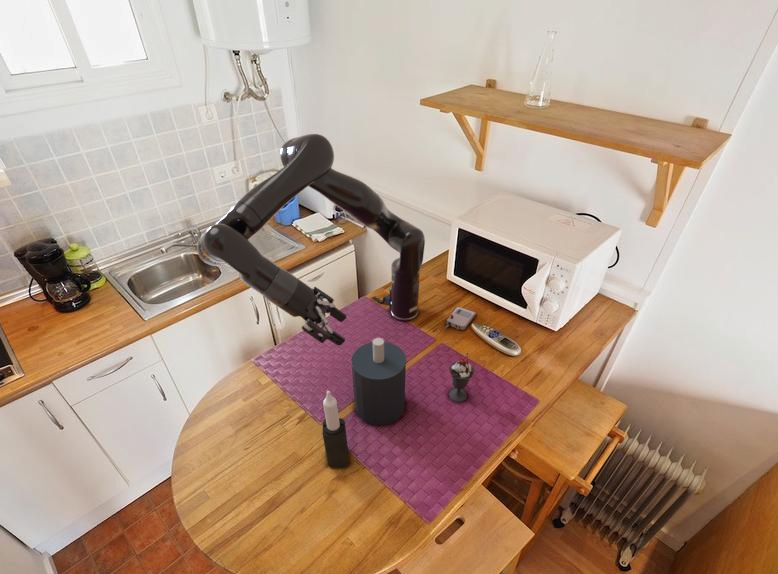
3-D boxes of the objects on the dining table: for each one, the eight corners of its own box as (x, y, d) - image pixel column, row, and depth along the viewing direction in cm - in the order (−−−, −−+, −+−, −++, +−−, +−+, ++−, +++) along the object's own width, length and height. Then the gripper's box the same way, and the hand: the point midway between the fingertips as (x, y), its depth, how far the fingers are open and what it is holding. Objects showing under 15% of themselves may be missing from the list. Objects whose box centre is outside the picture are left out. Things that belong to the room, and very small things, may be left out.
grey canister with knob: (345, 404, 120) (338, 340, 104) (382, 379, 127) (381, 316, 111) (377, 434, 112) (375, 370, 96) (415, 406, 119) (418, 342, 103)
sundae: (469, 387, 124) (475, 348, 114) (470, 405, 119) (477, 366, 109) (446, 385, 125) (450, 347, 115) (446, 403, 120) (451, 365, 110)
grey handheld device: (477, 312, 151) (479, 305, 149) (458, 336, 141) (459, 329, 139) (460, 306, 153) (461, 299, 151) (440, 330, 143) (441, 323, 141)
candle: (328, 450, 108) (316, 383, 92) (348, 449, 109) (340, 381, 92) (327, 468, 105) (315, 401, 88) (348, 466, 105) (340, 399, 88)
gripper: (281, 284, 100) (335, 320, 108) (271, 322, 90) (331, 360, 97) (301, 263, 97) (354, 303, 105) (292, 301, 86) (353, 341, 94)
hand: (343, 330), depth 101 cm, fingers open, 8 cm apart
